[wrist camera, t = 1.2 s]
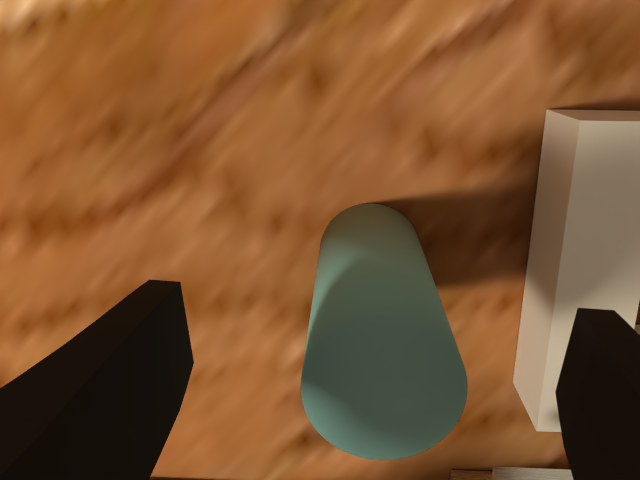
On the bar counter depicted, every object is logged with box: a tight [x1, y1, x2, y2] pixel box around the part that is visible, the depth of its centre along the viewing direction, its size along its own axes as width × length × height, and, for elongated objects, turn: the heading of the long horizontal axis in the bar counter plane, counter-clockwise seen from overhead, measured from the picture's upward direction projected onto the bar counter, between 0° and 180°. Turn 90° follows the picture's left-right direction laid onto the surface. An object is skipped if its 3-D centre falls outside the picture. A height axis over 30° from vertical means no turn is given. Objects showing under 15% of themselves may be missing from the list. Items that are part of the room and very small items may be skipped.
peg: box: [301, 203, 467, 460], centre depth 17 cm, size 4×4×9 cm
